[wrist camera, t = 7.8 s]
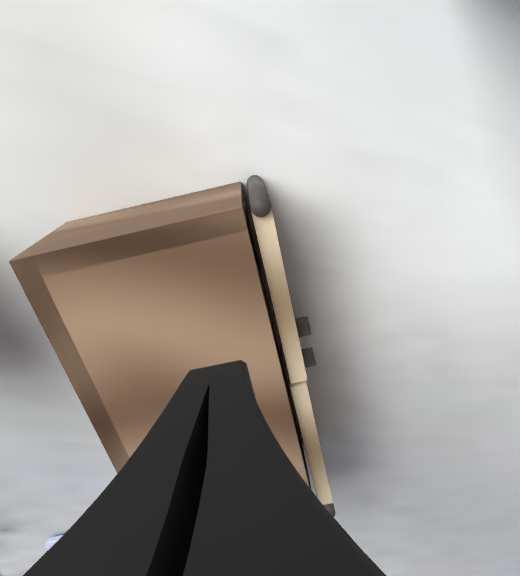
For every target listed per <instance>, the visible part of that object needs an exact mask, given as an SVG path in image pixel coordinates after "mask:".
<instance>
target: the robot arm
mask: <svg viewBox="0 0 520 576" xmlns="http://www.w3.org/2000/svg"><path fill="white" fill-rule="evenodd" d="M45 547H46V549H47V552H46V553H45V554H44V555H43V556H42V557H41V558H40V559H39V560H38V561H37V562H36V563H35V564H34V565H33V566H32V567H31V568H30V569H29V570H28V571H27V572H26V573H25V574H24V575H23V576H386V575H385V574H384V573H383V572H382V571H381V570H380V569H379V568H378V566H377V565H376V564H375V563H374V562H373V561H372V560H371V559H370V558H369V557H368V556H367V555H366V554H365V553H364V552H363V551H362V550H361V549H360V547H359V546H358V545H357V544H356V543H355V542H354V541H353V539H352V538H351V537H350V536H349V535H348V534H347V532H346V531H345V530H344V529H343V528H342V527H341V525H340V524H339V523H338V522H337V521H336V520H335V519H334V517H333V516H332V515H331V514H330V513H329V512H328V510H327V509H326V508H325V507H324V506H323V505H322V503H321V502H320V501H319V499H318V498H317V497H316V496H315V494H314V493H313V492H312V490H311V489H310V488H309V486H308V485H307V484H306V483H305V481H304V480H303V478H302V477H301V476H300V474H299V473H298V471H297V470H296V469H295V467H294V466H293V464H292V463H291V461H290V460H289V458H288V457H287V455H286V454H285V452H284V451H283V449H282V448H281V446H280V444H279V443H278V441H277V439H276V438H275V436H274V434H273V433H272V431H271V429H270V427H269V426H268V424H267V422H266V420H265V418H264V416H263V414H262V412H261V410H260V408H259V406H258V404H257V401H256V398H255V394H254V390H253V386H252V382H251V379H250V375H249V371H248V367H247V363H245V362H244V361H242V360H238V361H233V362H228V363H223V364H218V365H213V366H208V367H203V368H198V369H193V370H189V372H188V373H187V375H186V376H185V378H184V379H183V381H182V382H181V384H180V385H179V387H178V388H177V390H176V392H175V393H174V395H173V396H172V398H171V399H170V401H169V402H168V404H167V405H166V407H165V409H164V410H163V412H162V413H161V415H160V416H159V418H158V419H157V420H156V422H155V423H154V425H153V426H152V428H151V429H150V431H149V432H148V434H147V435H146V437H145V438H144V439H143V441H142V442H141V444H140V445H139V446H138V448H137V449H136V450H135V452H134V453H133V454H132V456H131V457H130V458H129V459H128V461H127V462H126V463H125V465H124V466H123V467H122V469H121V470H120V471H119V473H118V474H117V475H116V476H115V478H114V479H113V480H112V481H111V483H110V484H109V485H108V486H107V487H106V489H105V490H104V491H103V492H102V493H101V494H100V496H99V497H98V498H97V499H96V500H95V501H94V502H93V504H92V505H91V506H90V507H89V508H88V509H87V510H86V511H85V513H84V514H83V515H82V516H81V517H80V518H79V519H78V520H77V521H76V522H75V524H74V525H73V526H72V527H71V528H70V529H69V530H68V531H67V532H66V533H65V534H64V535H60V536H55V537H51V538H49V539H48V540H47V542H46V545H45Z"/></svg>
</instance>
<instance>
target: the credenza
mask: <svg viewBox="0 0 520 576" xmlns="http://www.w3.org/2000/svg"><path fill="white" fill-rule="evenodd" d="M247 188H248V195H249V202H250V209H251V213H252V217H253V221H254V226H255V230H256V234H257V239H258V243H259V247H260V252H261V256H262V260H263V265H264V269H265V273H266V278H267V282H268V286H269V291H270V295H271V299H272V303H273V308H274V312H275V316H276V321H277V325H278V329H279V334H280V338H281V342H282V347H283V351H284V355H285V360H286V364H287V368H288V373H289V377H290V381H291V384H292V383H297V382H302V381H306V380H307V375H306V370H305V366H304V361H303V356H302V351H301V346H300V342H299V337H303V336H307V335H311V331H310V326H309V322H308V318H307V316H306V317H301V318H297V319H295V318H294V313H293V308H292V303H291V299H290V294H289V289H288V284H287V280H286V275H285V270H284V265H283V260H282V256H281V251H280V246H279V241H278V237H277V232H276V227H275V222H274V217H273V213H272V208H271V203H270V200H269V197H268V195H267V192H266V189H265V187H264V184H263V181H262V179H261V178H260V177H259V176H257V175H253V176H251V177H249V179H248V180H247ZM9 262H10V264H11V266H12V268H13V270H14V272H15V274H16V276H17V278H18V280H19V282H20V284H21V286H22V288H23V290H24V292H25V294H26V296H27V298H28V299H29V301H30V303H31V305H32V307H33V309H34V311H35V313H36V315H37V317H38V319H39V321H40V323H41V325H42V327H43V329H44V331H45V333H46V335H47V337H48V339H49V340H50V342H51V344H52V346H53V348H54V350H55V352H56V354H57V356H58V358H59V360H60V362H61V364H62V366H63V368H64V370H65V372H66V374H67V376H68V378H69V380H70V382H71V383H72V385H73V387H74V389H75V391H76V393H77V395H78V397H79V399H80V401H81V403H82V405H83V407H84V409H85V411H86V413H87V415H88V417H89V419H90V421H91V423H92V424H93V426H94V428H95V430H96V432H97V434H98V436H99V438H100V440H101V442H102V444H103V446H104V448H105V450H106V452H107V454H108V456H109V458H110V460H111V462H112V464H113V466H114V467H115V469H116V471H117V473H119V471H120V470H121V469H122V467H123V466H124V465H125V463H126V462H127V461H128V459H129V458H130V457H131V456H132V454H133V453H134V452H135V450H136V449H137V448H138V446H139V445H140V444H141V442H142V441H143V439H144V438H145V437H146V435H147V434H148V432H149V431H150V429H151V428H152V426H153V425H154V423H155V422H156V420H157V419H158V418H159V416H160V415H161V413H162V412H163V410H164V409H165V407H166V405H167V404H168V402H169V401H170V399H171V398H172V396H173V395H174V393H175V392H176V390H177V388H178V387H179V385H180V384H181V382H182V381H183V379H184V378H185V376H186V375H187V373H188V372H189V370H193V369H198V368H203V367H208V366H213V365H218V364H223V363H228V362H233V361H238V360H242V361H244V362H245V363H247V367H248V371H249V375H250V379H251V382H252V386H253V390H254V394H255V398H256V401H257V404H258V406H259V408H260V410H261V412H262V414H263V416H264V418H265V420H266V422H267V424H268V426H269V427H270V429H271V431H272V433H273V434H274V436H275V438H276V439H277V441H278V443H279V444H280V446H281V448H282V449H283V451H284V452H285V454H286V455H287V457H288V458H289V460H290V461H291V463H292V464H293V466H294V467H295V469H296V470H297V471H298V473H299V474H300V476H301V477H302V478H303V480H304V481H305V483H306V484H307V485H308V486H309V488H310V489H311V486H310V481H309V476H308V471H307V466H306V460H305V455H304V450H303V446H302V441H301V437H300V433H299V429H298V424H297V420H296V416H295V412H294V407H293V403H292V399H291V395H290V390H289V386H288V382H287V378H286V373H285V369H284V365H283V361H282V356H281V352H280V348H279V344H278V339H277V335H276V331H275V327H274V322H273V318H272V314H271V310H270V305H269V301H268V297H267V293H266V288H265V284H264V280H263V276H262V271H261V267H260V263H259V259H258V254H257V250H256V246H255V242H254V237H253V233H252V229H251V225H250V220H249V216H248V212H247V208H246V203H245V199H244V195H243V191H242V186H241V182H237V183H233V184H229V185H224V186H220V187H216V188H211V189H207V190H203V191H199V192H194V193H190V194H186V195H182V196H177V197H173V198H169V199H164V200H160V201H156V202H152V203H147V204H143V205H139V206H135V207H130V208H126V209H122V210H117V211H113V212H109V213H105V214H100V215H96V216H92V217H88V218H83V219H79V220H75V221H70V222H66V223H65V224H63V225H62V226H60V227H59V228H57V229H56V230H54V231H53V232H51V233H50V234H48V235H47V236H46V237H44V238H43V239H41V240H40V241H38V242H37V243H35V244H34V245H32V246H31V247H29V248H28V249H26V250H25V251H23V252H22V253H20V254H19V255H18V256H16V257H15V258H13V259H12V260H10V261H9Z"/></svg>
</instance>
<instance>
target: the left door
mask: <svg viewBox="0 0 520 576" xmlns="http://www.w3.org/2000/svg"><path fill="white" fill-rule="evenodd" d="M301 351H302V356H303V361H304V366H305V368H306V367H310V366H315V365H316V363H315V358H314V354H313V350H312V347H311V348H306V349H302V350H301ZM283 352H284V351H283ZM284 357H285V355H284ZM285 363H286V360H285ZM286 368H287V364H286ZM287 373H288V368H287ZM288 378H289V383H290V388H291V392H292V396H293V400H294V404H295V409H296V413H297V417H298V421H299V425H300V429H301V433H302V437H303V441H304V445H305V450H306V454H307V458H308V462H309V466H310V470H311V474H312V478H313V482H314V486H315V491H316V495H317V498H318V499H319V501H320V502H321V503H322V505H323V506H324V507H325V508H326V509H327V510H328V512H329V513H330V514H331V515H332V516H333V517H334V516H335V509H334V505H333V500H332V495H331V491H330V486H329V482H328V477H327V473H326V468H325V464H324V459H323V455H322V450H321V446H320V441H319V437H318V432H317V428H316V423H315V419H314V414H313V410H312V405H311V401H310V396H309V392H308V387H307V383H306V381H302V382H297V383H292V384H291V381H290V377H289V373H288Z"/></svg>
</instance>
